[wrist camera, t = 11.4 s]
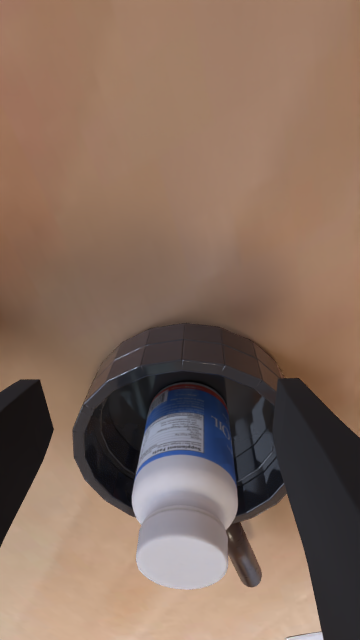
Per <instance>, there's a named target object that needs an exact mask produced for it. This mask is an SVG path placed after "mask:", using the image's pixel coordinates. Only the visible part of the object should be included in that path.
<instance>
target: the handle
mask: <svg viewBox="0 0 360 640" xmlns="http://www.w3.org/2000/svg"><path fill="white" fill-rule="evenodd" d="M226 534H227V537H228V555H229V557H230V559H231V561H232V563H233V565H234V567H235V569H236V571H237V573H238V575H239V577H240V579H241V581H242V582H243V584H244V585H246V586H248V587H255V586H257V585H258V584H259V583H260V581H261V577H262V572H261V568H260V566H259V564H258V562H257V559H256V557H255V555H254V553H253V550H252V548H251V546H250V543H249V541H248V539H247V537H246V534H245V532H244V530H243V528H242V525H241V523H240V522H237V523H234V524H231V525H230V526H229V527H228V528H227V530H226Z"/></svg>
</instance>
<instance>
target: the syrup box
mask: <svg viewBox="0 0 360 640" xmlns="http://www.w3.org/2000/svg"><path fill="white" fill-rule="evenodd" d="M286 640H323V635H322V632H318V633H311V634H305V635H300V636H295V637H290V638H286Z"/></svg>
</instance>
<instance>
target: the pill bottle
mask: <svg viewBox="0 0 360 640" xmlns="http://www.w3.org/2000/svg"><path fill="white" fill-rule="evenodd" d="M132 507H133V511H134V513H135V516H136V518H137V520H138V521H139V522H140V524H141V528H140V530H139V538H138V545H137V553H136V562H137V566H138V568H139V570H140V571H141V572H142V574H143V575H144V576H146V577H147V578H148V579H150V580H151V581H153V582H155V583H157V584H159V585H163V586H165V587H169V588H174V589H199V588H203V587H207V586H210V585H212V584H214V583H216V582H218V581H219V580H220V579H221V578H222V577H223V576H224V575H225V574H226V572H227V569H228V537H227V534H226V530H227V528H228V527H229V526H230V525H231V523H232V522H233V520H234V519H235V516H236V513H237V508H238V496H237V484H236V476H235V468H234V459H233V450H232V441H231V432H230V423H229V414H228V409H227V406H226V403H225V401H224V400H223V398H222V397H221V396H220V395H219V394H218V393H217V392H216V391H215V390H213V389H212V388H210V387H208V386H206V385H203V384H199V383H194V382H180V383H175V384H172V385H169V386H167V387H165V388H164V389H162V390H161V391H160V392H159V393H158V394H157V395H156V396H155V397H154V399H153V400H152V403H151V405H150V408H149V412H148V417H147V422H146V427H145V432H144V437H143V442H142V447H141V452H140V457H139V462H138V466H137V471H136V476H135V481H134V486H133V492H132Z"/></svg>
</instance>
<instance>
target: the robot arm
mask: <svg viewBox="0 0 360 640" xmlns="http://www.w3.org/2000/svg"><path fill="white" fill-rule="evenodd" d="M53 430H54V428H53V425H52V421H51V418H50V414H49V411H48V407H47V404H46V400H45V397H44V393H43V390H42V386H41V383H40V380H19V381H17V382H16V383H14V384H12V385H11V386H9V387H8V388H6V389H5V390H3V391H2V392H0V547H1V544H2V542H3V540H4V538H5V536H6V534H7V532H8V530H9V528H10V526H11V524H12V522H13V520H14V518H15V516H16V514H17V512H18V510H19V508H20V506H21V504H22V502H23V500H24V498H25V496H26V494H27V492H28V490H29V488H30V486H31V484H32V482H33V480H34V478H35V476H36V474H37V472H38V470H39V468H40V466H41V464H42V462H43V459H44V457H45V454H46V451H47V448H48V446H49V443H50V440H51V436H52V433H53ZM272 432H273V438H274V443H275V449H276V454H277V460H278V464H279V468H280V471H281V475H282V478H283V481H284V485H285V488H286V491H287V495H288V498H289V501H290V504H291V508H292V511H293V514H294V517H295V521H296V524H297V527H298V531H299V534H300V537H301V540H302V544H303V547H304V551H305V555H306V559H307V563H308V567H309V572H310V577H311V581H312V586H313V591H314V595H315V600H316V605H317V610H318V615H319V620H320V625H321V630H322V635H323V640H360V438H359V437H358V436H357V435H356V434H355V433H354V432H352V431H351V430H350V429H349V428H348V427H347V426H346V425H345V424H344V423H343V422H342V421H341V420H340V419H339V418H338V417H337V416H336V415H335V414H334V413H333V412H332V411H331V410H330V409H329V408H328V407H327V406H326V405H325V404H324V403H323V402H322V401H321V400H320V399H319V398H318V397H317V396H316V395H315V394H314V393H313V392H312V391H311V390H310V389H309V388H308V387H307V386H306V385H305V384H304V383H303V382H302V381H301V380H300V379H299V378H278V381H277V391H276V400H275V410H274V419H273V429H272Z"/></svg>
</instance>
